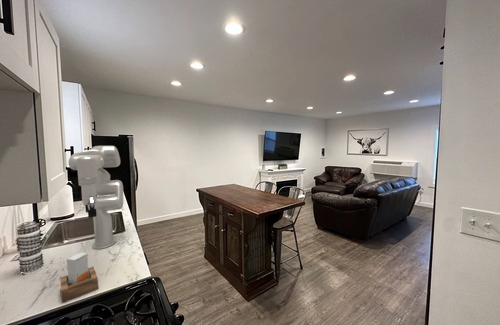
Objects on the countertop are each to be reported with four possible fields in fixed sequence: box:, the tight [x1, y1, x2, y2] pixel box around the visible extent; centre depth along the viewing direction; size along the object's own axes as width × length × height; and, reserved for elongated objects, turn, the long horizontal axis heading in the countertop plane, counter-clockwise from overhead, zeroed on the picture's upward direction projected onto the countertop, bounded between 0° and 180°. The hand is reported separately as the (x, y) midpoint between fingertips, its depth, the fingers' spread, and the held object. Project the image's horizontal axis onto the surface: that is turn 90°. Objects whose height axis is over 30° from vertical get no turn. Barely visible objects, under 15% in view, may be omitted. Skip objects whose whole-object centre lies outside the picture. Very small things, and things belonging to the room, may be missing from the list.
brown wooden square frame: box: [59, 266, 99, 304], centre depth 93 cm, size 12×12×5 cm
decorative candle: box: [15, 221, 45, 275], centre depth 106 cm, size 9×9×25 cm
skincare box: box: [66, 252, 89, 285], centre depth 92 cm, size 6×4×12 cm
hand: (91, 214), depth 105 cm, fingers open, 9 cm apart
